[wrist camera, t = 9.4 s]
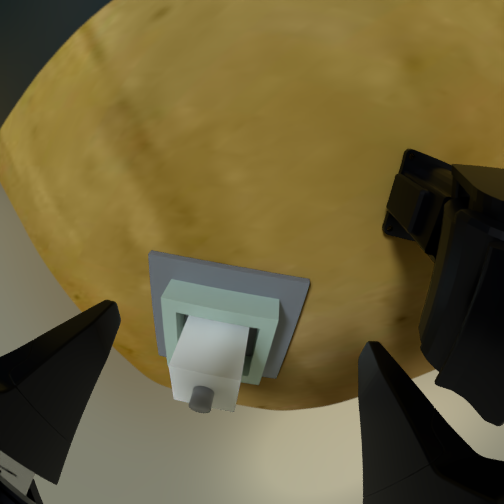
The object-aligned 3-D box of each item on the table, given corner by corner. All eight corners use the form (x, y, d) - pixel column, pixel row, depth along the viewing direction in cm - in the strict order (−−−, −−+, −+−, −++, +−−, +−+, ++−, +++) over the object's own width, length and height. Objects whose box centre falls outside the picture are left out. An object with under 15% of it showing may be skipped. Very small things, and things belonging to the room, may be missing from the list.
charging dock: (309, 279, 22) (312, 303, 19) (276, 374, 28) (275, 397, 25) (151, 250, 22) (135, 270, 19) (160, 351, 28) (151, 372, 26)
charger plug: (251, 313, 23) (237, 398, 16) (244, 350, 26) (231, 427, 18) (194, 302, 23) (162, 381, 16) (193, 340, 26) (169, 413, 18)
